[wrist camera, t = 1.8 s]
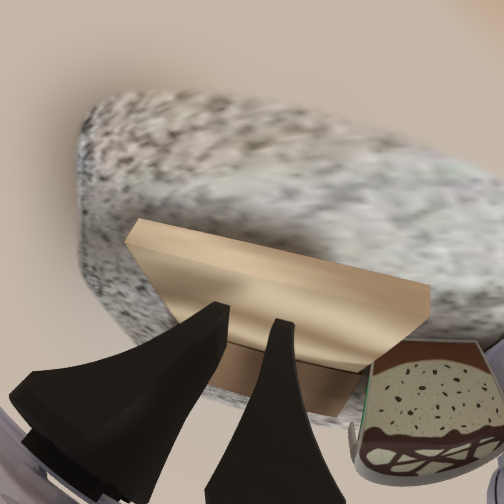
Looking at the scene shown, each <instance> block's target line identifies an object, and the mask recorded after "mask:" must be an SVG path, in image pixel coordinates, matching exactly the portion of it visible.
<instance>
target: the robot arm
mask: <svg viewBox="0 0 504 504" xmlns="http://www.w3.org/2000/svg"><path fill="white" fill-rule="evenodd" d="M229 315H230V305H227V304H223V303H220V302H216V301H214V302H212V303H210V304H209V305H207V306H206V307H204V308H203V309H201V310H200V311H198V312H197V313H195V314H194V315H192V316H191V317H189V318H188V319H186V320H184V321H183V322H181V323H180V324H178V325H176V326H175V327H173V328H171V329H170V330H168V331H166V332H164V333H163V334H161V335H159V336H157V337H155V338H153V339H151V340H150V341H148V342H146V343H143V344H141V345H139V346H137V347H135V348H132V349H130V350H128V351H125V352H123V353H120V354H117V355H114V356H111V357H108V358H104V359H101V360H98V361H95V362H91V363H87V364H83V365H78V366H73V367H68V368H61V369H53V370H43V371H32V372H31V373H30V374H29V375H28V376H27V377H26V378H25V379H24V380H23V381H22V382H21V383H20V384H19V385H18V386H17V387H16V388H15V389H14V390H13V391H12V392H11V393H10V394H9V399H10V401H11V403H12V404H13V406H14V407H15V408H16V410H17V411H18V412H19V414H20V415H21V416H22V417H23V418H24V420H25V421H26V422H27V423H28V425H29V426H30V427H31V428H32V429H31V430H30V432H29V433H28V434H26V433H25V432H24V431H23V430H22V429H21V428H20V427H19V426H18V425H17V424H16V423H15V422H14V421H13V420H12V419H11V418H10V417H9V416H8V415H7V414H6V413H5V412H4V410H3V409H2V408H1V407H0V504H79V503H78V502H77V501H76V500H74V499H73V498H72V497H70V496H69V495H68V494H66V493H65V492H64V491H62V490H61V489H59V488H58V487H57V486H55V485H54V484H53V483H51V482H50V481H49V480H48V479H47V473H46V472H48V473H49V474H50V475H51V476H52V477H54V478H55V479H56V480H58V481H59V482H60V483H61V484H62V485H64V486H65V487H66V488H68V489H69V490H70V491H72V492H73V493H74V494H76V495H77V496H78V497H80V498H81V499H83V500H84V501H86V502H87V503H89V504H121V503H119V501H120V499H121V500H123V501H125V502H127V503H130V502H133V503H135V504H147V503H149V500H150V498H151V495H152V493H153V490H154V488H155V485H156V483H157V480H158V478H159V476H160V473H161V471H162V469H163V467H164V464H165V462H166V460H167V458H168V455H169V453H170V451H171V449H172V447H173V445H174V442H175V440H176V438H177V436H178V434H179V432H180V430H181V428H182V426H183V424H184V422H185V420H186V418H187V416H188V415H189V413H190V411H191V410H192V408H193V407H194V405H195V403H196V402H197V400H198V399H199V397H200V395H201V394H202V392H203V391H204V389H205V387H206V386H207V384H208V382H209V381H210V379H211V378H212V376H213V374H214V373H215V371H216V369H217V367H218V365H219V363H220V361H221V358H222V356H223V354H224V351H225V349H226V347H227V338H228V326H229ZM294 331H295V324H294V323H293V322H290V321H286V320H282V319H278V318H276V319H275V321H274V323H273V325H272V327H271V329H270V333H269V337H268V341H267V345H266V349H265V353H264V357H263V361H262V365H261V369H260V373H259V376H258V380H257V383H256V385H255V388H254V390H253V392H252V395H251V397H250V399H249V402H248V404H247V406H246V409H245V411H244V413H243V415H242V417H241V420H240V422H239V424H238V426H237V428H236V430H235V432H234V435H233V437H232V439H231V441H230V443H229V445H228V447H227V449H226V451H225V453H224V455H223V457H222V458H221V460H220V462H219V464H218V466H217V468H216V470H215V471H214V473H213V475H212V477H211V479H210V481H209V482H208V484H207V486H206V488H205V490H204V491H205V500H206V504H346V500H345V498H344V496H343V495H342V493H341V491H340V490H339V488H338V486H337V484H336V482H335V480H334V479H333V477H332V475H331V473H330V471H329V469H328V467H327V465H326V463H325V460H324V458H323V456H322V454H321V451H320V449H319V446H318V444H317V441H316V439H315V437H314V434H313V431H312V428H311V425H310V422H309V419H308V416H307V413H306V409H305V406H304V402H303V398H302V394H301V389H300V385H299V380H298V374H297V367H296V359H295V349H294ZM484 355H485V357H486V359H487V361H488V363H489V365H490V367H491V369H492V371H493V373H494V375H495V377H496V379H497V381H498V383H499V385H500V388H501V390H502V392H503V394H504V338H503V339H502V340H501V341H500V342H498V343H497V344H496V345H494V346H493V347H492V348H491V349H489V350H488V351H486V352H485V353H484ZM498 465H499V467H498V468H497V469H496V470H495V471H494V473H493V475H492V477H491V480H490V483H489V486H488V490H487V504H504V453H503V454H502V455H501V456H500V457H498Z"/></svg>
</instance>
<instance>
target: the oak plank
mask: <svg viewBox="0 0 504 504" xmlns="http://www.w3.org/2000/svg"><path fill="white" fill-rule="evenodd" d="M124 242H125V244H126V245H127V247H128V249H129V250H130V252H131V253H132V255H133V257H134V258H135V260H136V261H137V263H138V264H139V266H140V267H141V269H142V271H143V272H144V274H145V275H146V277H147V278H148V280H149V281H150V283H151V284H152V286H153V287H154V288H155V290H156V291H157V293H158V294H159V296H160V297H161V299H162V300H163V301H164V303H165V304H166V306H167V307H168V309H169V310H170V311H171V313H172V314H173V315H174V317H175V318H176V320H177V321H178V322H179V324H180V323H181V322H183V321H184V320H186V319H188V318H189V317H191V316H192V315H194V314H195V313H197V312H198V311H200V310H201V309H203V308H204V307H206V306H207V305H209V304H210V303H212V302H214V301H216V302H220V303H223V304H227V305H230V315H229V326H228V338H227V340H228V341H231V342H234V343H237V344H241V345H244V346H248V347H251V348H255V349H258V350H262V351H265V349H266V345H267V341H268V337H269V333H270V329H271V327H272V325H273V323H274V321H275V319H276V318H278V319H282V320H286V321H290V322H293V323H294V324H295V331H294V349H295V359H297V360H301V361H305V362H309V363H314V364H318V365H322V366H327V367H332V368H336V369H341V370H346V371H351V372H357V373H358V372H359V371H361V370H362V369H364V368H365V367H366V366H368V365H369V364H371V363H372V362H374V361H375V360H376V359H378V358H379V357H380V356H382V355H383V354H384V353H386V352H387V351H388V350H390V349H391V348H392V347H394V346H395V345H396V344H398V343H399V342H400V341H401V340H403V339H404V338H405V337H406V336H408V335H409V334H410V333H411V332H413V331H414V330H415V329H416V328H417V327H419V326H420V325H421V324H422V323H423V322H424V321H426V320H427V319H428V318H429V317H430V285H426V284H422V283H418V282H414V281H410V280H405V279H401V278H397V277H393V276H389V275H385V274H380V273H376V272H372V271H368V270H364V269H359V268H355V267H351V266H347V265H343V264H338V263H334V262H330V261H326V260H321V259H317V258H313V257H308V256H304V255H300V254H296V253H291V252H287V251H283V250H278V249H274V248H270V247H265V246H261V245H257V244H252V243H248V242H243V241H239V240H235V239H230V238H226V237H221V236H217V235H213V234H208V233H204V232H199V231H195V230H190V229H186V228H181V227H177V226H172V225H168V224H163V223H159V222H154V221H150V220H145V219H141V218H139V219H138V221H137V222H136V224H135V225H134V227H133V228H132V230H131V231H130V233H129V235H128V236H127V238H126V239H125V241H124Z"/></svg>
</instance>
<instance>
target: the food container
mask: <svg viewBox="0 0 504 504" xmlns="http://www.w3.org/2000/svg"><path fill="white" fill-rule="evenodd" d="M348 438H349V447H350V454H351V459H352V461H353V463H354V466H355V468H356V471H357V472H358V473H359V475H360V476H362V477H363V478H365V479H366V480H369V481H371V482H373V483H377V484H381V485H387V486H399V487H405V486H420V485H427V484H432V483H437V482H441V481H445V480H448V479H452V478H455V477H457V476H460V475H463V474H465V473H468V472H470V471H472V470H474V469H476V468H478V467H480V466H482V465H484V464H485V463H488V462H489V461H491V460H493V459H494V458H496V457H497V456H499V455H500V454H501V453H503V452H504V394H503V392H502V390H501V388H500V385H499V383H498V381H497V379H496V377H495V375H494V373H493V371H492V369H491V367H490V365H489V363H488V361H487V359H486V357H485V355H484V353H483V351H482V349H481V347H480V345H479V344H478V342H477V340H455V339H428V338H409V337H405V338H404V339H403V340H401V341H400V342H399V343H398V344H396V345H395V346H394V347H392V348H391V349H390V350H388V351H387V352H386V353H384V354H383V355H382V356H380V357H379V358H378V359H376V360H375V361H374V362H372V363H371V364H370V368H369V376H368V383H367V390H366V396H365V403H364V409H363V414H362V420H361V425H360V430H359V435H358V440H357V441H356V436H355V430H354V424H353V422H350V426H349V429H348Z"/></svg>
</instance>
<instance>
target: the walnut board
mask: <svg viewBox="0 0 504 504" xmlns="http://www.w3.org/2000/svg"><path fill="white" fill-rule="evenodd" d="M178 324H179V323H178ZM178 324H177V325H178ZM264 353H265V351H262V350H258V349H255V348H251V347H248V346H244V345H241V344H237V343H234V342H231V341H228V340H227V347H226V349H225V351H224V354H223V356H222V358H221V361H220V363H219V365H218V367H217V369H216V371H215V373H214V374H213V376H212V378H211V379H210V381H209V382H208V384H210V385H213V386H216V387H219V388H222V389H225V390H228V391H232V392H235V393H238V394H241V395H245V396H248V397H251V395H252V392H253V390H254V388H255V385H256V383H257V380H258V376H259V373H260V369H261V365H262V361H263V357H264ZM296 367H297V374H298V380H299V385H300V389H301V394H302V398H303V402H304V406H305V409H306V412H311V413H316V414H321V415H326V416H331V417H337V416H338V415H339V413H340V411H341V410H342V408H343V407H344V405H345V403H346V402H347V400H348V399H349V397H350V395H351V394H352V392H353V390H354V388H355V387H356V385H357V383H358V382H359V380H360V378H361V376H362V370H361V371H359V372H358V373H357V372H351V371H346V370H341V369H336V368H332V367H327V366H322V365H318V364H314V363H309V362H305V361H301V360H297V359H296Z"/></svg>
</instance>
